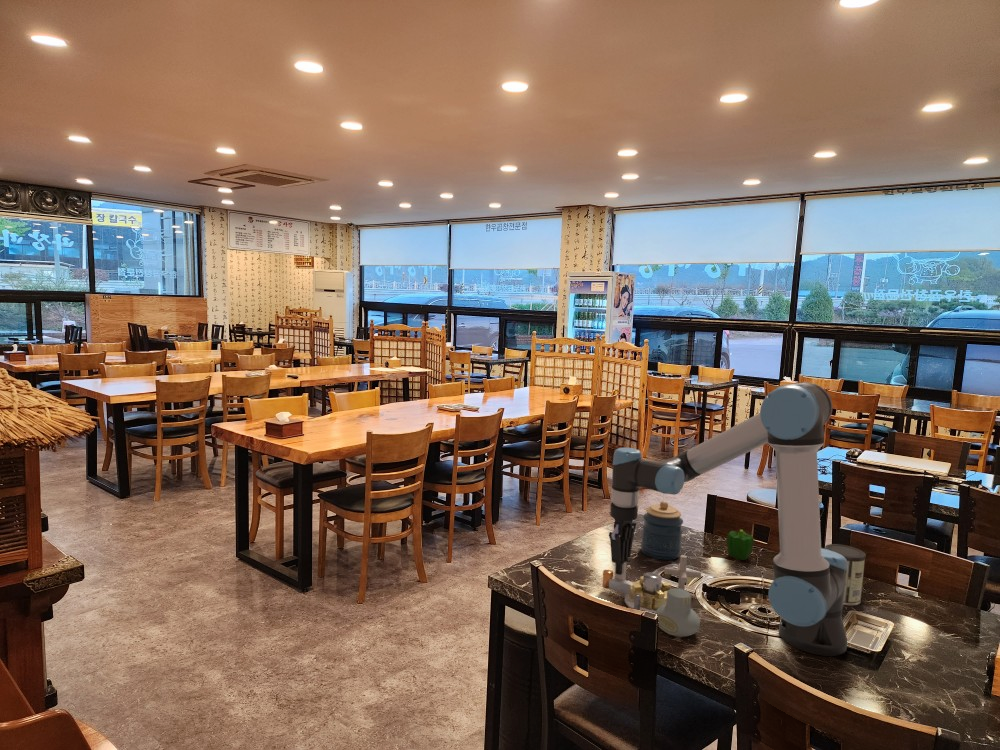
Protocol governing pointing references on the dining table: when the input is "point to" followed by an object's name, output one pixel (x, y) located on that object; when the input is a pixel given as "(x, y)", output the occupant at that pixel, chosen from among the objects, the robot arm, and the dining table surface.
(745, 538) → the bell pepper
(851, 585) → the coffee can
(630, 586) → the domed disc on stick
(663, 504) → the canister
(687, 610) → the air freshener
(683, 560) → the pipe connector
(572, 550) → the dining table surface
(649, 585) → the gold and silver mechanism
